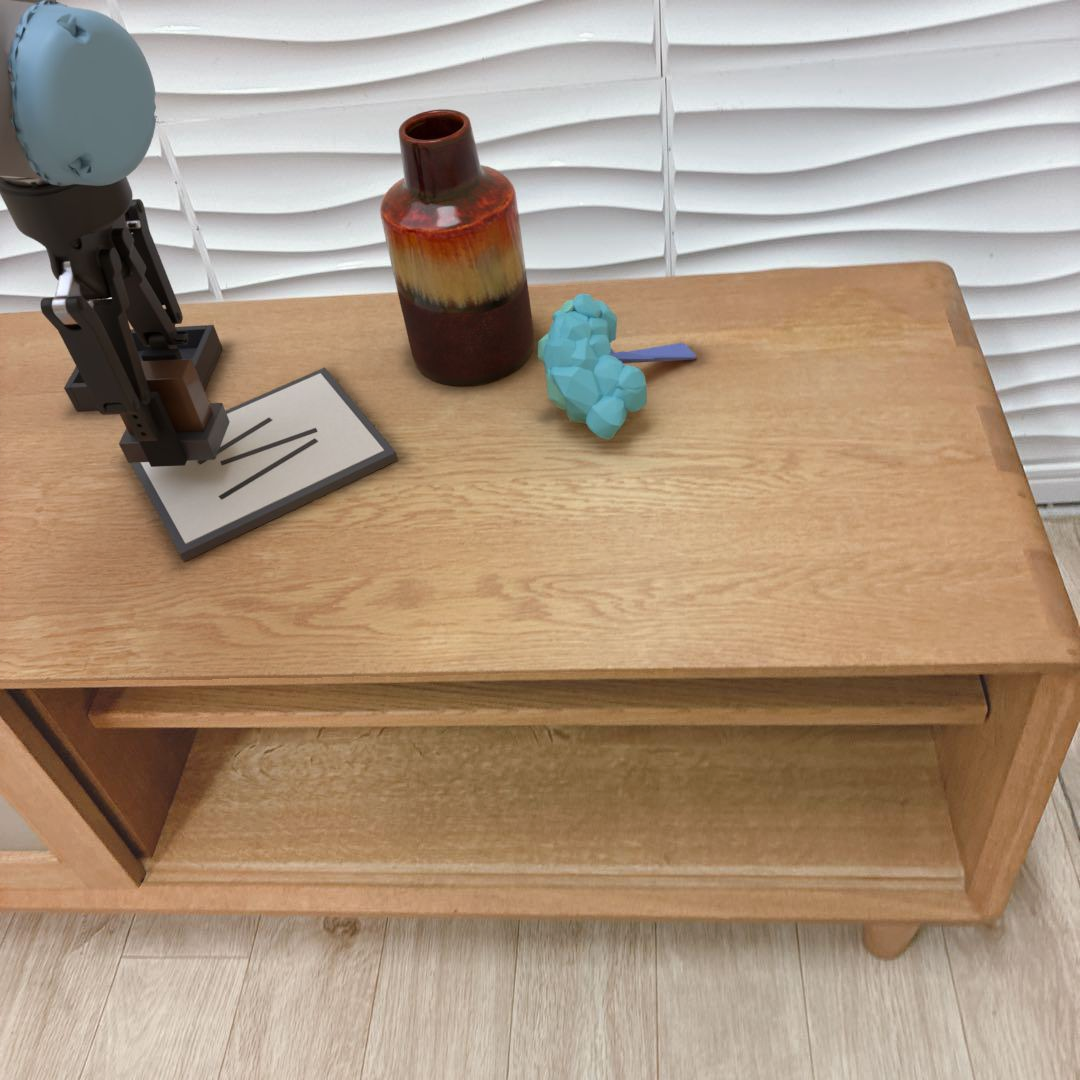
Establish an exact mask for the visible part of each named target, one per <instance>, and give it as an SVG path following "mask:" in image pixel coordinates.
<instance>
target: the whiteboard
mask: <svg viewBox="0 0 1080 1080" xmlns="http://www.w3.org/2000/svg"><path fill="white" fill-rule="evenodd" d="M225 411H226V414H227V416H228V419H229V421H230V423H229V425H228V428H227V430H226V433H225V436H224V438H223V441H222V443H221V446H220V448H219V451H218V454H217V456H216V459H215V460H192V461H187V462H186V464H185V466H160V467H151V466H150V464H149V462H138V463H130V465H131V467H132V469H133V471H134V472H135V474H136V476H137V479H138V480H139V482H140V484H141V485H142V487H143V489H144V491H145V493H146V495H147V497H148V498H149V500H150V502H151V504H152V507H153V508H154V509H155V512H156V513H157V515H158V517H159V519H160V521H161V523H162V524H163V526H164V528H165V531H166V532H167V534H168V536H169V538H170V539H171V541H172V544H173V545H174V547H175V549H176V550H177V552H178V554H179V556H180V558H181V559H182V562H187V561H189V560H191V559H193V558H195V557H197V556H199V555H201V554H204V553H206V552H208V551H211V550H212V549H214V548H216V547H219V546H221V545H223V544H225V543H227V542H228V541H231V540H233V539H235V538H237V537H239V536H241V535H244V534H246V533H248V532H250V531H252V530H254V529H256V528H259V527H261V526H263V525H264V524H266V523H269V522H271V521H274V520H275V519H277V518H280V517H281V516H283V515H286V514H287V513H290V512H292V511H294V510H296V509H298V508H301V507H303V506H304V505H307V504H309V503H311V502H313V501H315V500H317V499H319V498H321V497H324V496H325V495H327V494H330V493H332V492H334V491H336V490H338V489H340V488H342V487H345V486H347V485H349V484H350V483H353V482H355V481H358V480H359V479H361V478H363V477H366V476H367V475H370V474H372V473H373V472H377V471H379V470H380V469H382V468H384V467H387V466H389V465H391V464H393V463H395V462H397V461H398V460H399V458H398V454H397V452H396V450H395V449H394V448H393V447H392V445H391V444H390V443H389V442H388V440H387V439H386V438H385V437H384V436H383V435H382V434H381V432H380V431H379V430H378V429H377V427H375V425H374V424H373V423H372V422H371V420H370V419H369V418H368V417H367V415H366V414H365V413H364V412H363V411H362V410H361V408H359V406H358V404H357V403H356V402H355V401H354V399H352V398H351V396H350V395H349V394H348V393H347V392H346V391H345V390H344V388H343V387H342V386H341V385H340V384H339V382H338V381H337V380H336V378H335V377H334V376H333V375H332V374H331V372H330V371H329V370H328V369H327V368H326V367H321V368H320V369H318V370H315V371H313V372H311V373H307V374H306V375H304V376H301V377H300V378H297V379H295V380H292V381H290V382H288V383H285V384H283V385H281V386H279V387H276V388H274V389H271V390H270V391H269V390H268V391H267V392H265V393H262V394H260V395H258V396H256V397H253V398H251V399H248V400H247V401H244V402H241V403H240V404H237V405H234V406H232V407H230V408H228V409H225Z"/></svg>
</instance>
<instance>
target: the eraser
mask: <svg viewBox="0 0 1080 1080" xmlns="http://www.w3.org/2000/svg"><path fill="white" fill-rule="evenodd" d="M141 365H142V368H143V371H144V374H145V378H146V381H147V384H148V387H149V390H150V392H158V394H159V396H160V398H161V400H162V402H163V405H164V407H165V409H166V411H167V414H168V416H169V418H170V420H171V423H172V425H173V427H174V429H175V431H176V434H177V436H178V438H179V440H180V443H181V445H182V447H183V450H184V452H185V454H186V456H187V459H188V460H187V461H192V460H215V459H216V456H217V454H218V451H219V448H220V446H221V443H222V441H223V438H224V436H225V433H226V430H227V428H228V425H229V423H230V421H229V419H228V416H227V414H226V409H225V406H224V403H223V402H210V401H209V399H208V396H207V395H206V392H205V391H204V389H203V387H202V384H201V382H200V379H199V377H198V374H197V372H196V369H195V367H194V364H193V362H192V359H181V360H160V361H141ZM119 416H120V418H121V420H122V422H123V424H124V426H125V430H124V432H123V433H122V436H121V438H120V440H119V442H118V445H119V447H120V449H121V451H122V453H123V455H124V458H125V460H126V462H127V463H128V464H131V463H138V462H149V461H148V459H147V457H146V455H145V453H144V451H143V449H142V447H141V445H140V443H139V441H138V439H137V438H136V437H135V435H134V433H133V431H132V429H131V427H130V424H129V422H128V420H127V418H126V416H125V414H119Z"/></svg>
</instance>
